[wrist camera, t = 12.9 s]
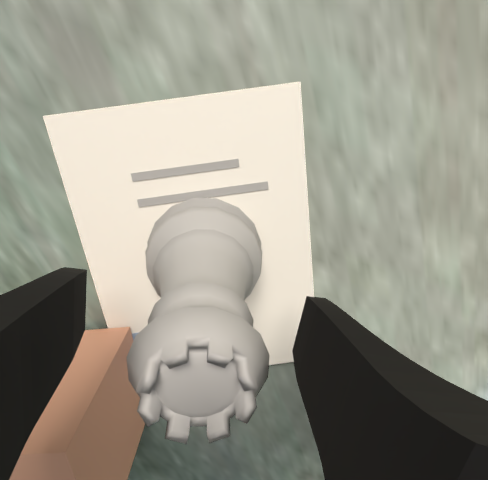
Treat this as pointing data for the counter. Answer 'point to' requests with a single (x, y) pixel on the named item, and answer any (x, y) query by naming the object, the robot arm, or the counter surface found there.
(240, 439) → the counter surface
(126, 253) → the letter
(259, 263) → the rook chess piece
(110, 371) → the block
